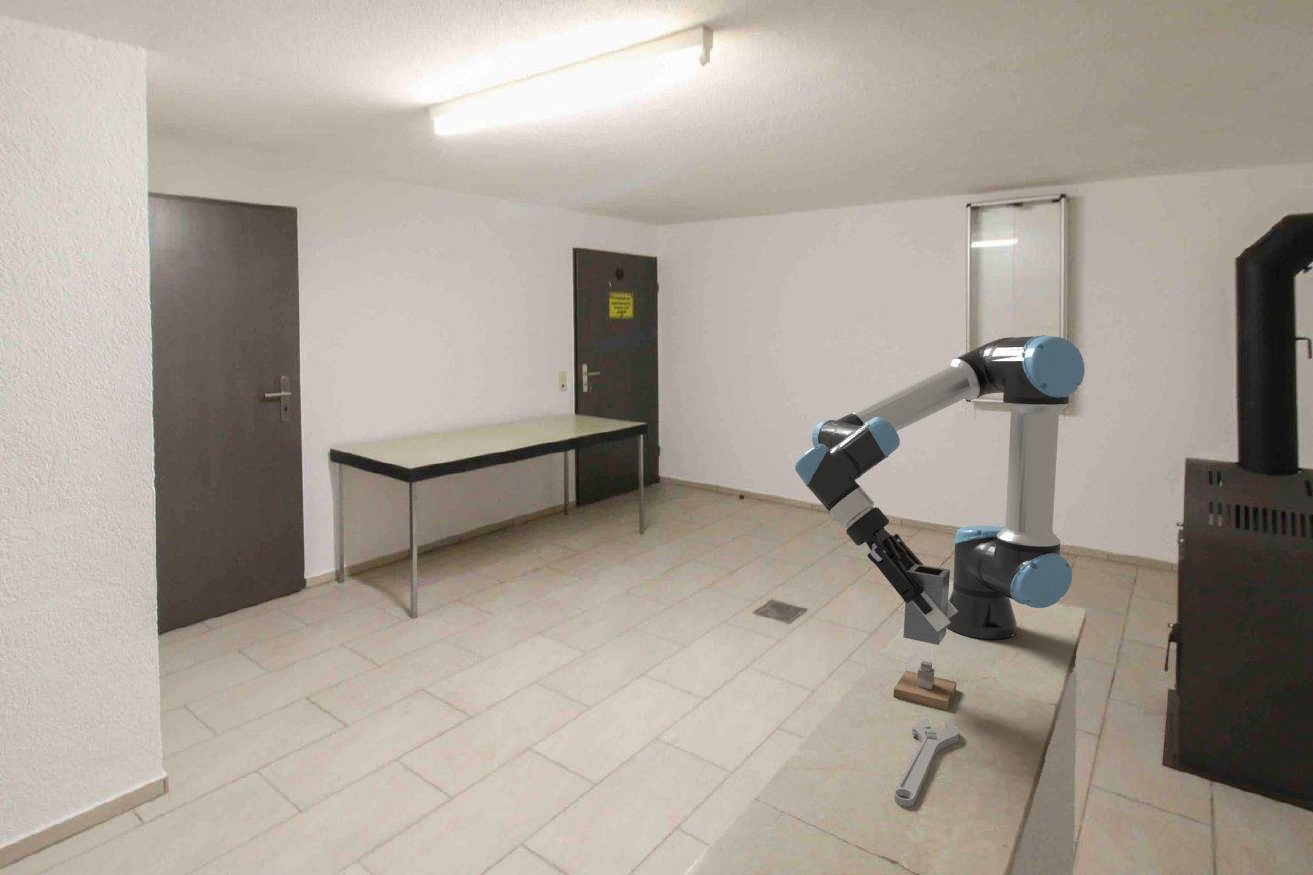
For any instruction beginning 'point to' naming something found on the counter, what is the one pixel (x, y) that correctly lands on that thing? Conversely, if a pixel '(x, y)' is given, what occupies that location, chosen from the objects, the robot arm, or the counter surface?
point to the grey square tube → (937, 590)
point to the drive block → (925, 687)
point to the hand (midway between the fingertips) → (947, 621)
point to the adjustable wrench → (923, 759)
